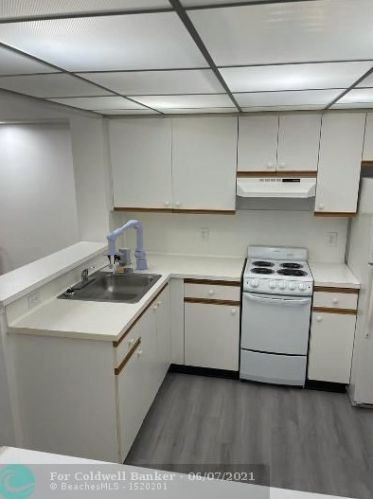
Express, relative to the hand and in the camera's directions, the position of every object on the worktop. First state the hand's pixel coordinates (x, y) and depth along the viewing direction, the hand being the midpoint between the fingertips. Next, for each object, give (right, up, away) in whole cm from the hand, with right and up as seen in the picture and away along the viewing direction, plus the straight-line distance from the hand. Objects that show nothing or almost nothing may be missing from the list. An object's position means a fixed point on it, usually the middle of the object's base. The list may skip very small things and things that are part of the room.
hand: (112, 263), depth 294 cm
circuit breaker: (+3, -3, +32) cm, 32 cm away
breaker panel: (+7, -8, +10) cm, 14 cm away
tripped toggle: (+7, -7, +3) cm, 10 cm away
